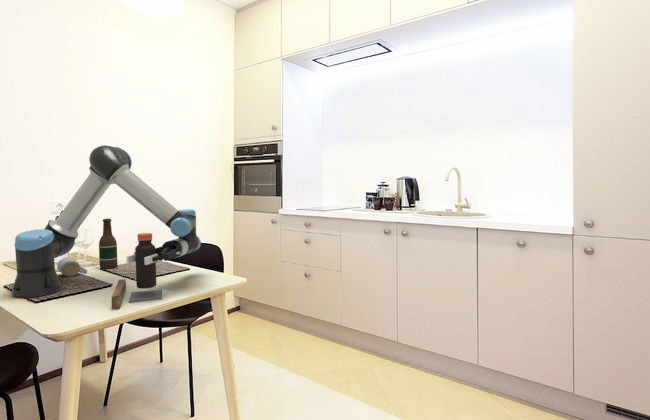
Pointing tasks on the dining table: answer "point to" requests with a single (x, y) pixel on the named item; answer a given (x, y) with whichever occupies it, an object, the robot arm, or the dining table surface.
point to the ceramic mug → (69, 267)
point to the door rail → (118, 294)
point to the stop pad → (145, 295)
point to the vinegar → (144, 272)
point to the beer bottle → (107, 247)
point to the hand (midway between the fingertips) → (136, 260)
